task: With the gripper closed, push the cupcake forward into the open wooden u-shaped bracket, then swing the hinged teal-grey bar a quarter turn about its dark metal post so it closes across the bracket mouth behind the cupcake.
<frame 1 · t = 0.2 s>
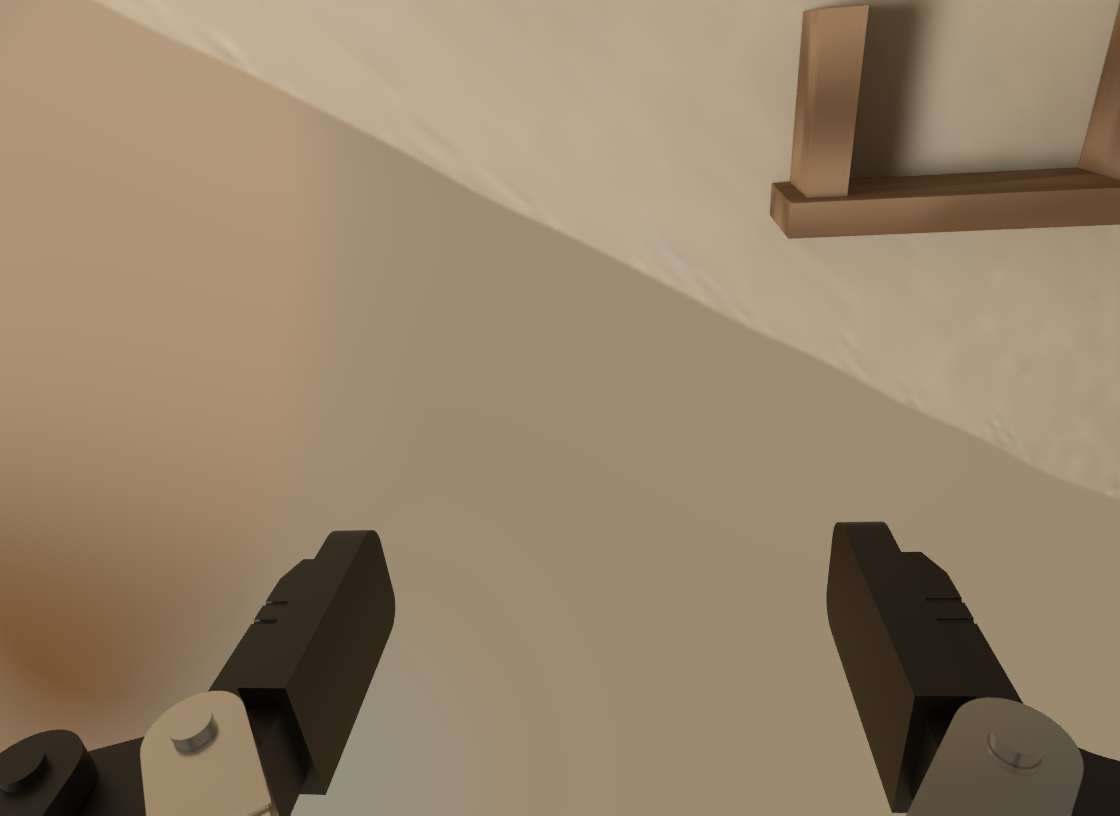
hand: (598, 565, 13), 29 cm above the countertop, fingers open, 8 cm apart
wooden u-shaped bracket: (961, 105, 34), on the countertop
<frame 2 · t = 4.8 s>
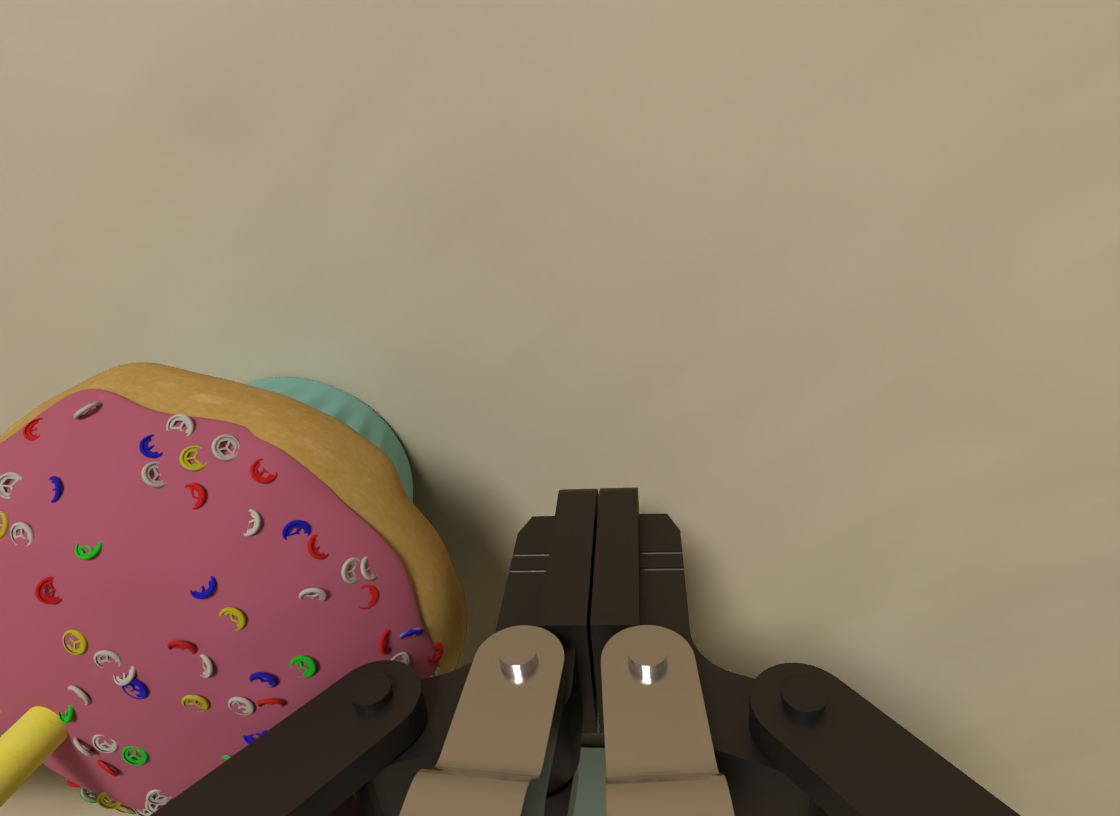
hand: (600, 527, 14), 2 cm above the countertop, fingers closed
cupcake: (315, 460, 16), on the countertop, touching gripper
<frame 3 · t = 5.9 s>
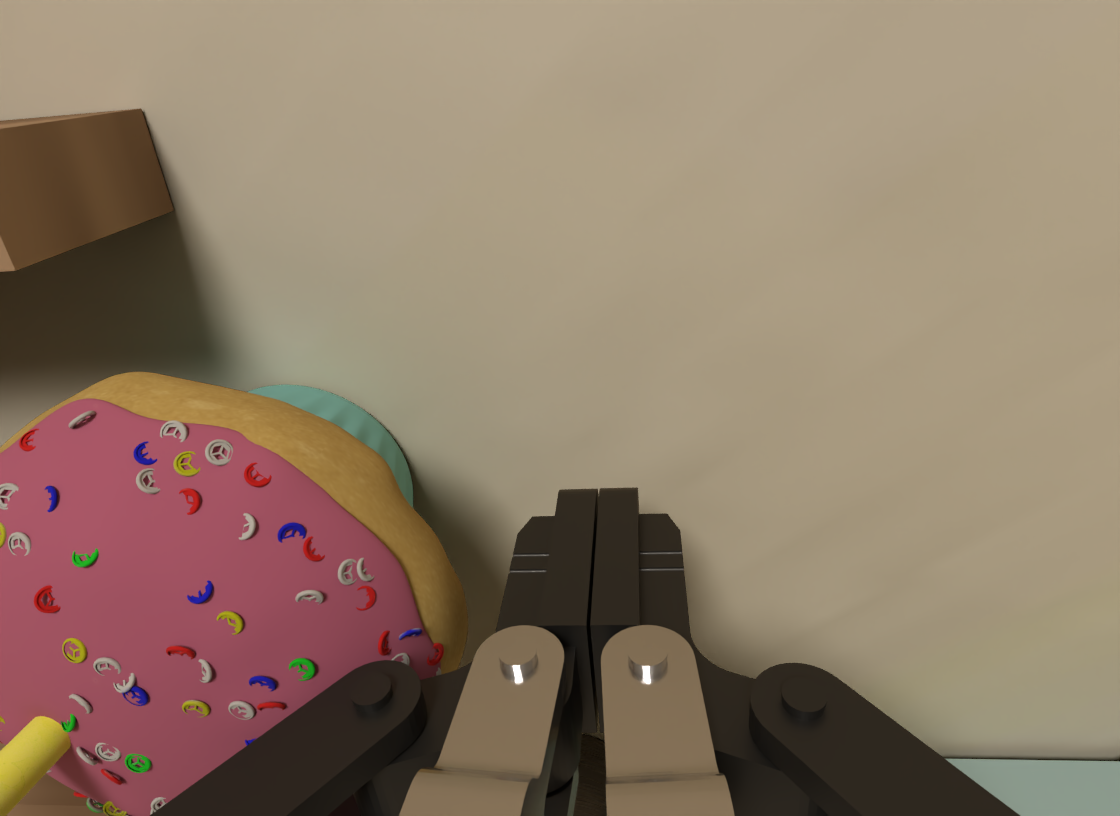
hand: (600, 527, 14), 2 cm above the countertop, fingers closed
wooden u-shaped bracket: (78, 481, 17), on the countertop
cupcake: (315, 467, 16), on the countertop, touching gripper
post: (574, 769, 20), on the countertop
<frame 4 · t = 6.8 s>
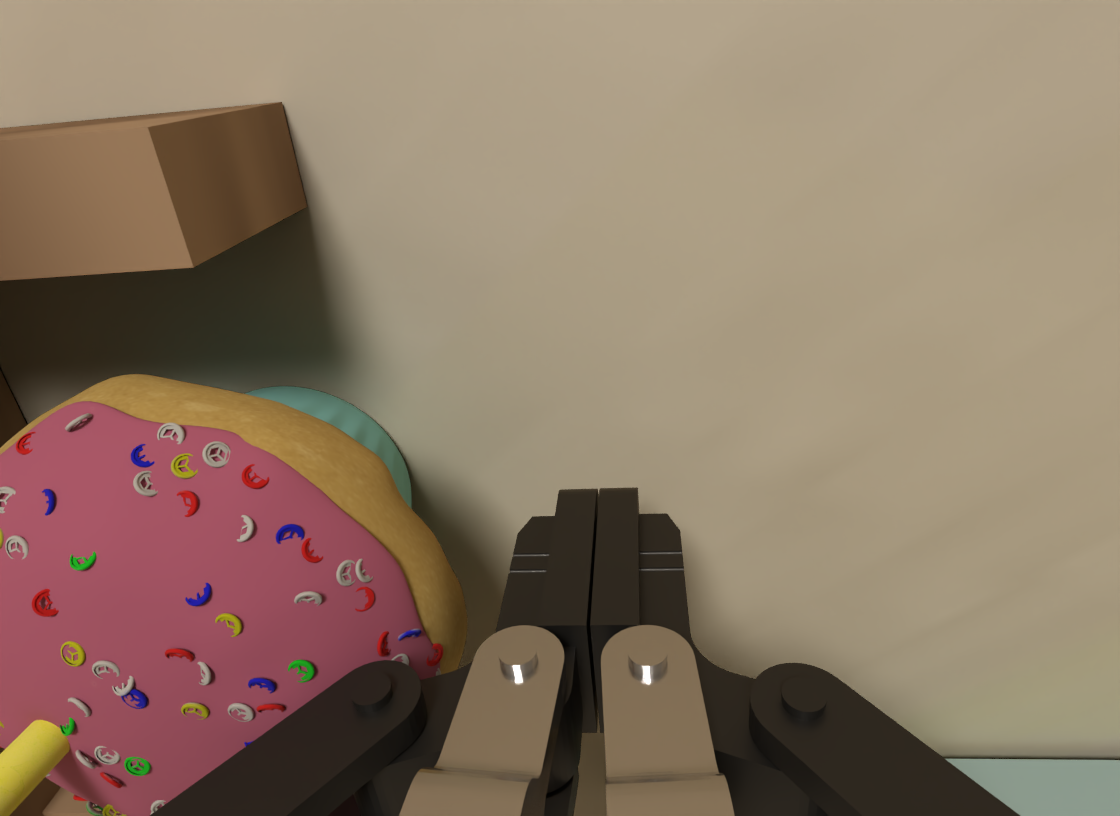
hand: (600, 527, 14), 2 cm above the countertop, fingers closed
wooden u-shaped bracket: (185, 484, 16), on the countertop
cupcake: (313, 468, 16), on the countertop, touching gripper
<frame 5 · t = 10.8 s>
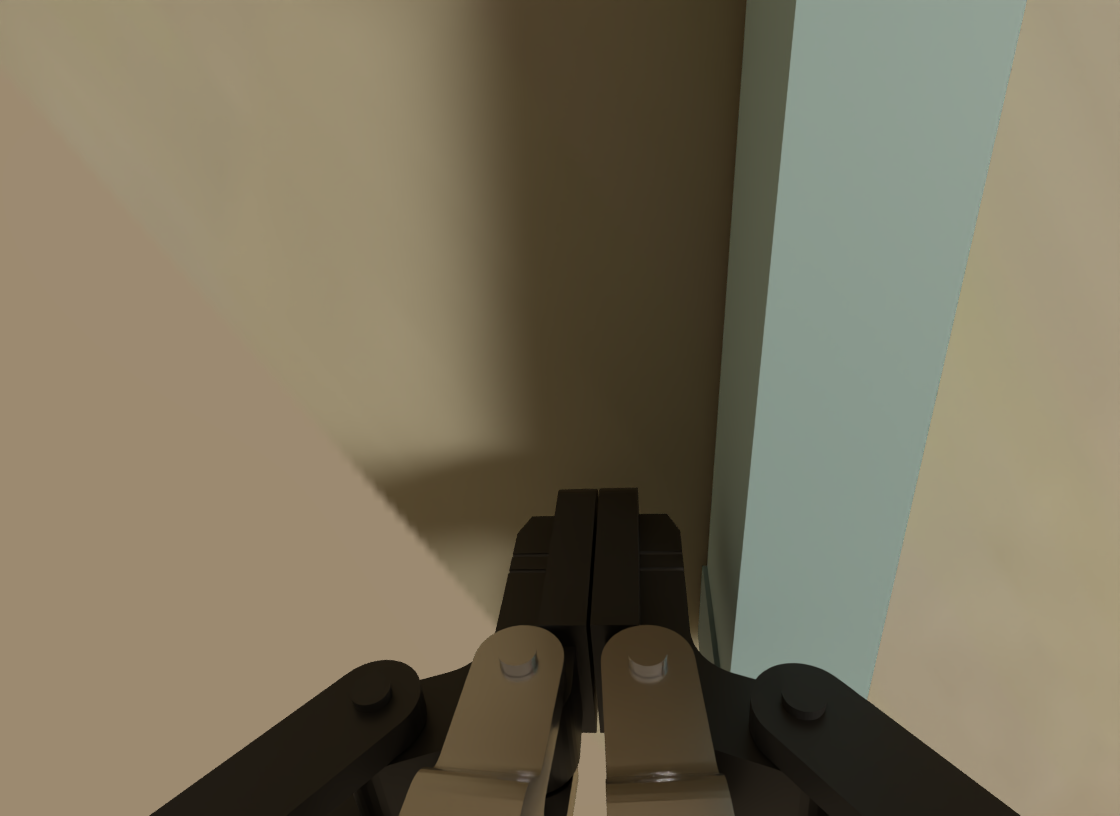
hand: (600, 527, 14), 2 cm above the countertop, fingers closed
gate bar: (806, 401, 11), point 2 cm above the countertop, hinge at 0.0°, touching gripper
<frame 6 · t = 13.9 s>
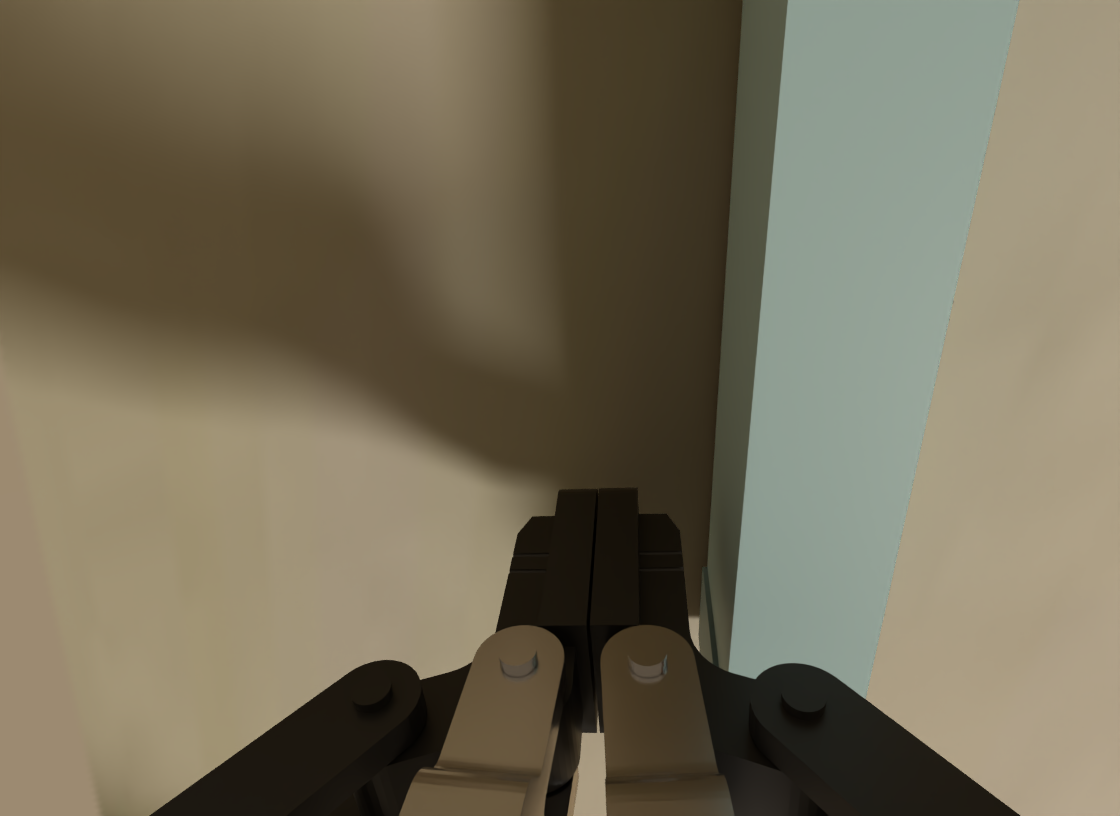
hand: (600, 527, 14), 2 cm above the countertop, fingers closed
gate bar: (803, 403, 11), point 2 cm above the countertop, hinge at 44.5°, touching gripper
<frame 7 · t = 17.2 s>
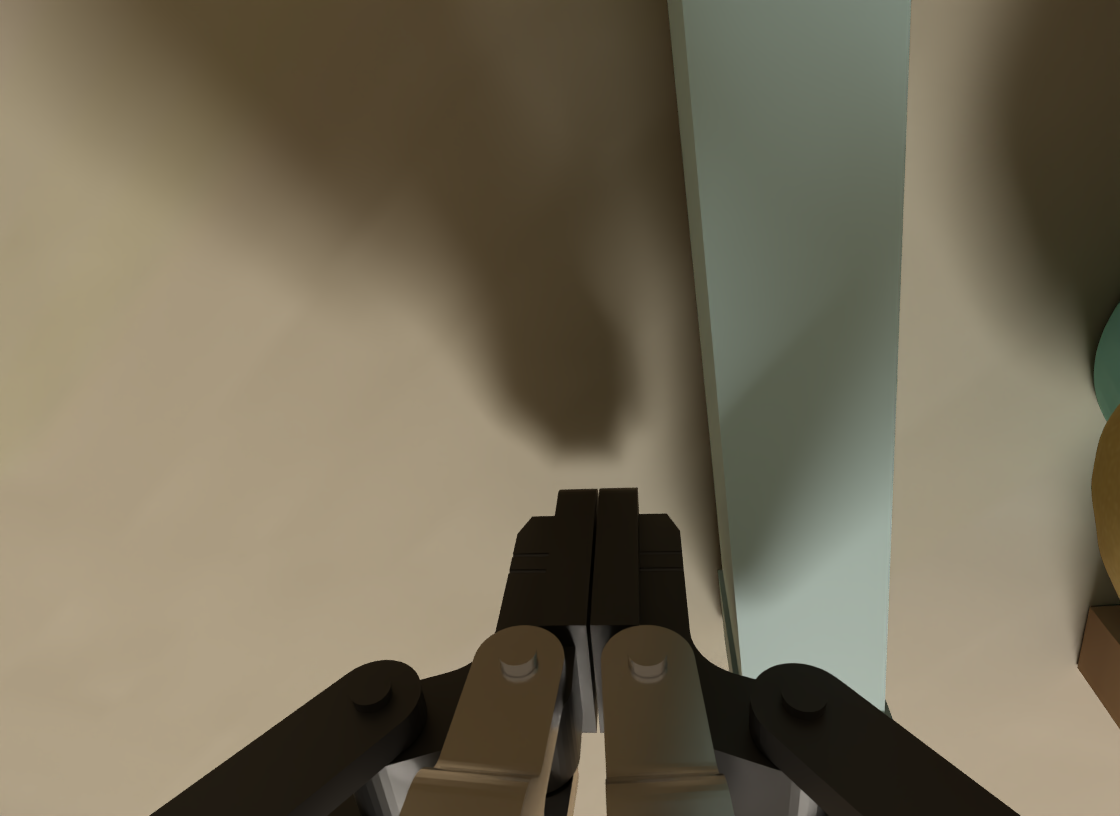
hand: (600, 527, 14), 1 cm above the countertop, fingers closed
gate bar: (782, 399, 11), point 2 cm above the countertop, hinge at 90.1°, touching gripper
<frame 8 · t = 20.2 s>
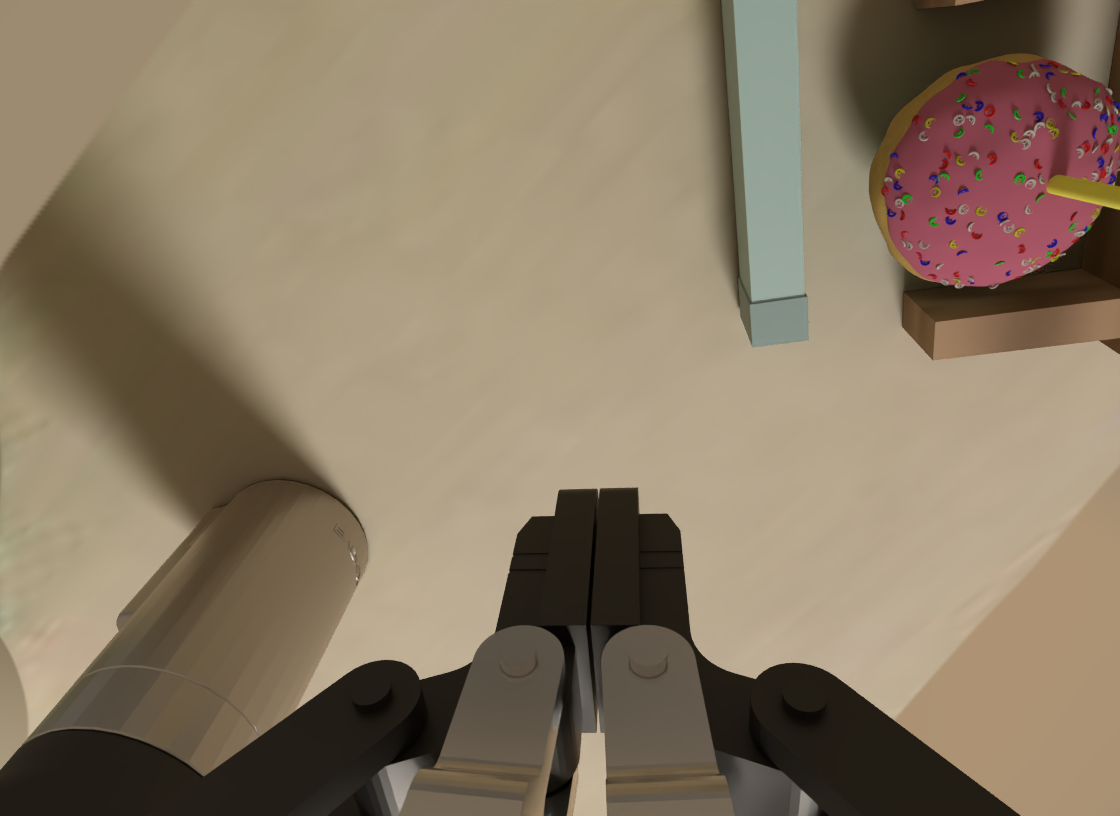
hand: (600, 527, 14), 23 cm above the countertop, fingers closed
wooden u-shaped bracket: (1019, 144, 31), on the countertop
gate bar: (765, 173, 30), point 2 cm above the countertop, hinge at 90.1°
cupcake: (943, 159, 31), on the countertop
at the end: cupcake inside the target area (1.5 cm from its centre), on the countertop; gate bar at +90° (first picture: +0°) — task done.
